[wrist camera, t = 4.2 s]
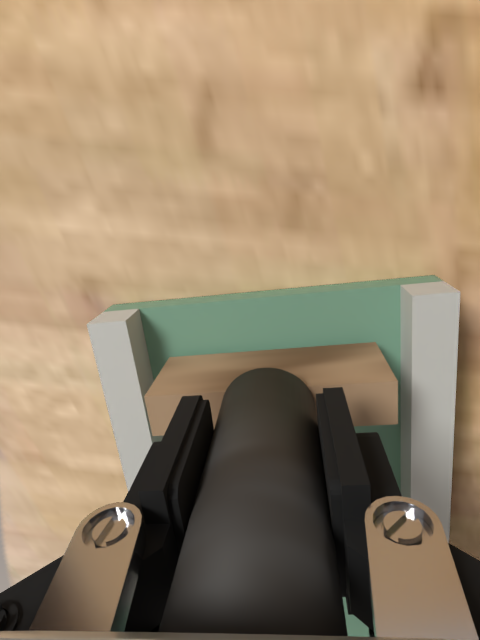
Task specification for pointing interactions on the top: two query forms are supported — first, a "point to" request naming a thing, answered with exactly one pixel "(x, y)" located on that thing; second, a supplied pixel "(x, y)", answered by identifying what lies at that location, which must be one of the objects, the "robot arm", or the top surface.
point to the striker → (265, 486)
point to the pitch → (295, 332)
